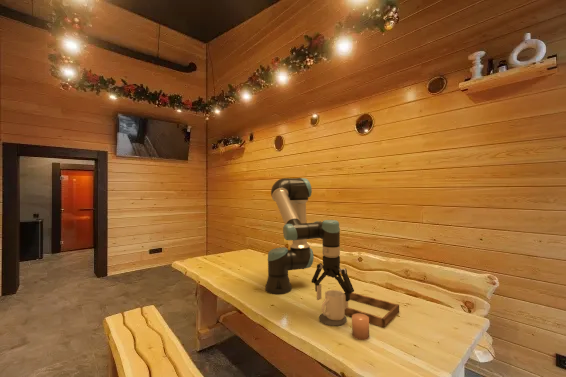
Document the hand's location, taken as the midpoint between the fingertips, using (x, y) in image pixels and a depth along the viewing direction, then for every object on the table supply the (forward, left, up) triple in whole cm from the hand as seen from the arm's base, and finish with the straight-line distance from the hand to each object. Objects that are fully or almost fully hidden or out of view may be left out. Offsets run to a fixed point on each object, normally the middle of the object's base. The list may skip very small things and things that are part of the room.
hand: (331, 303), depth 115 cm
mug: (0, 0, -6) cm, 6 cm away
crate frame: (+7, +16, -7) cm, 19 cm away
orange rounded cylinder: (+15, -4, -7) cm, 17 cm away
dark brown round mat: (0, 0, -7) cm, 7 cm away
